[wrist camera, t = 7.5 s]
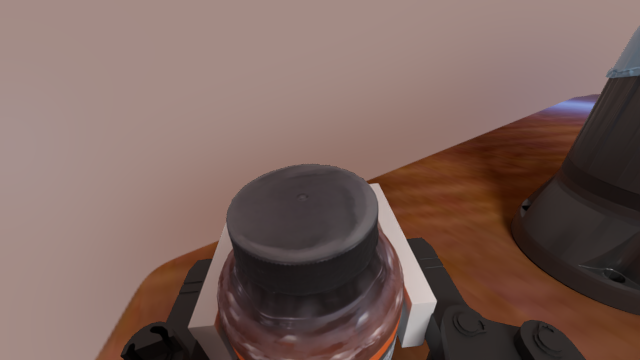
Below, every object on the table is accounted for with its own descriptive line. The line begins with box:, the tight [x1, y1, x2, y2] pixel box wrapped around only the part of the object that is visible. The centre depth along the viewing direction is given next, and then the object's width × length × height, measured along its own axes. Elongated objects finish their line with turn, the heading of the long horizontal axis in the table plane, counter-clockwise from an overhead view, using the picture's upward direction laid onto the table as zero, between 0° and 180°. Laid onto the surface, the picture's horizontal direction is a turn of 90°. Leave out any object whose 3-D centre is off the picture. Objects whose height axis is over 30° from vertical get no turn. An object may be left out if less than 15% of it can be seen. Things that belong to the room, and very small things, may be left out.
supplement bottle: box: [217, 164, 404, 360], centre depth 10 cm, size 6×6×11 cm
